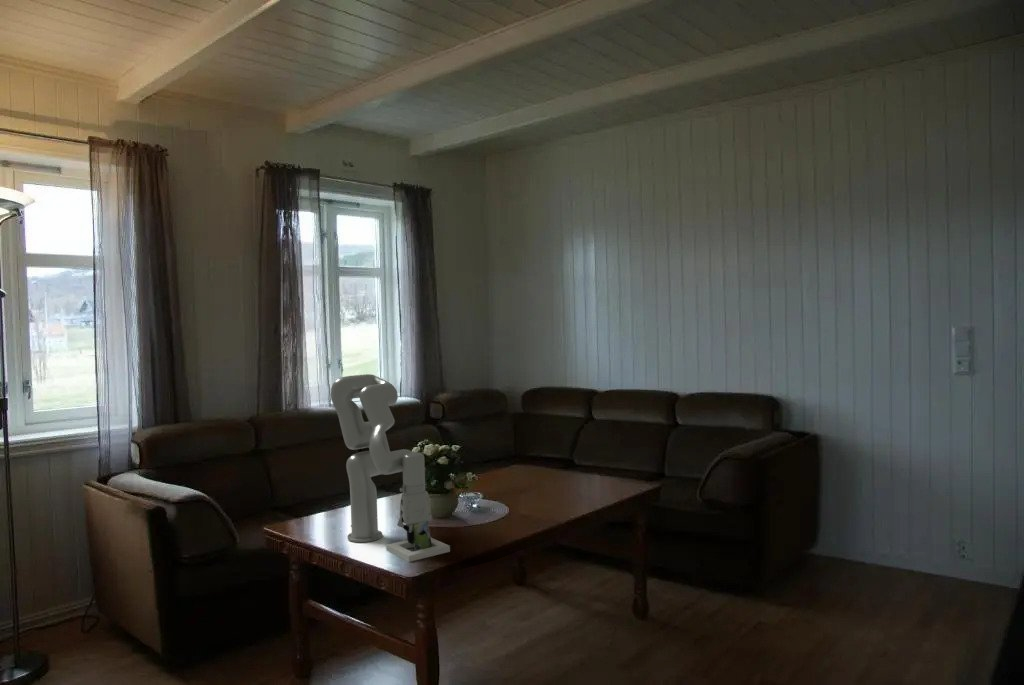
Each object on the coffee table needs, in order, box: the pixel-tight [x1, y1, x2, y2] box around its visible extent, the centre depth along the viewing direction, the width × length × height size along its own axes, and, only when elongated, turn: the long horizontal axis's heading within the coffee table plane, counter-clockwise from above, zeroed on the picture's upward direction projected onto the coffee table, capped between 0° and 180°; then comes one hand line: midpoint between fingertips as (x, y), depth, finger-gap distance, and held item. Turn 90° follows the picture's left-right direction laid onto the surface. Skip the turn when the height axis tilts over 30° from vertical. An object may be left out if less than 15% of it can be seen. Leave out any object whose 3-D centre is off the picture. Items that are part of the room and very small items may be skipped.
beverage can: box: [412, 521, 432, 551], centre depth 253 cm, size 6×7×12 cm
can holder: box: [385, 536, 451, 563], centre depth 252 cm, size 16×16×2 cm
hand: (415, 541), depth 252 cm, fingers open, 3 cm apart
